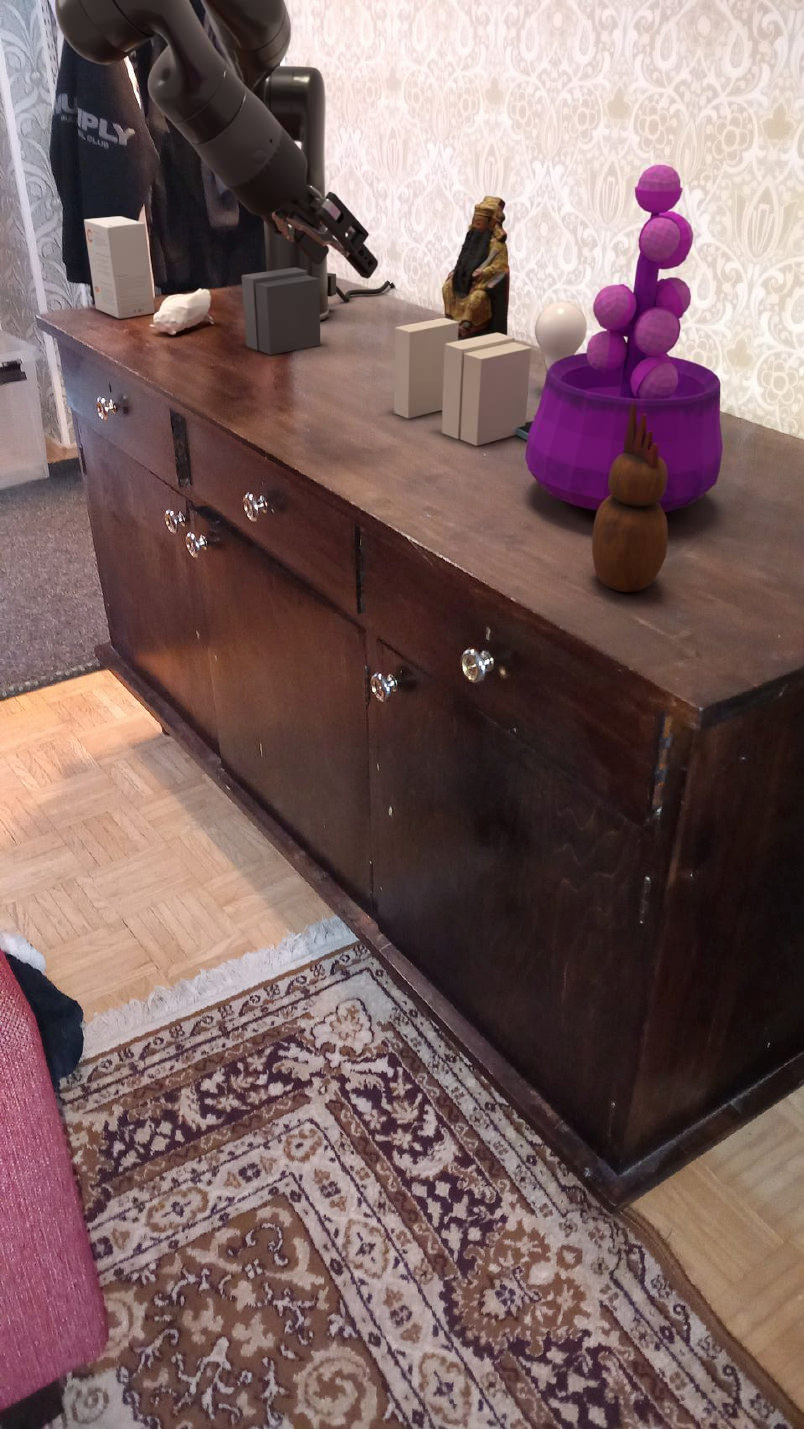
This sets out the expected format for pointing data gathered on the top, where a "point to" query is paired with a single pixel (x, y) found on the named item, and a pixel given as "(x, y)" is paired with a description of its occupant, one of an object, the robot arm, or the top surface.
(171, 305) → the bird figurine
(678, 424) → the decorative plant
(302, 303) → the grey books
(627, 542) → the wooden figurine
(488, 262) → the statue
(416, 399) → the white book
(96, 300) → the small box
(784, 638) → the top surface
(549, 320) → the lightbulb
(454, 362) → the white books
